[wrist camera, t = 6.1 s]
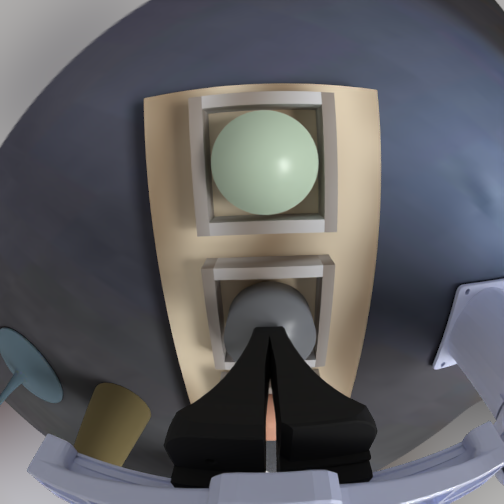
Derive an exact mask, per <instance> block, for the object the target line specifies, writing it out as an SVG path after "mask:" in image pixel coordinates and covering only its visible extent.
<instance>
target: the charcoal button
mask: <svg viewBox="0 0 504 504" xmlns="http://www.w3.org/2000/svg"><path fill="white" fill-rule="evenodd" d="M278 326H283V327H284V328H285V331H286V333H287V335H288V337H289V339H290V340H291V342H292V344H293V345H294V347H295V348H296V350H297V351H298V353H299V354H300V355H301V357H302V358H303V359H304V360H306V358H307V357H308V356H309V355H310V354H311V352H312V350H313V348H314V346H315V342H316V329H315V326H314V322H313V318H312V315H311V311H310V308H309V305H308V303H307V301H306V299H305V297H304V296H303V295H302V294H301V293H300V292H299V291H298V290H296V289H295V288H293V287H292V286H290V285H287V284H284V283H281V282H274V281H267V282H260V283H256V284H253V285H251V286H248V287H247V288H245V289H243V290H242V291H241V292H240V293H238V295H237V296H236V297H235V298H234V300H233V301H232V303H231V305H230V308H229V312H228V317H227V322H226V326H225V331H224V344H225V347H226V350H227V352H228V354H229V355H230V356H231V358H232V359H233V360H234V361H235V362H237V360H238V359H239V357H240V356H241V354H242V353H243V351H244V349H245V347H246V346H247V344H248V342H249V340H250V338H251V335H252V333H253V329H254V328H255V327H278Z"/></svg>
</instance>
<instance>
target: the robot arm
mask: <svg viewBox="0 0 504 504" xmlns="http://www.w3.org/2000/svg"><path fill="white" fill-rule="evenodd" d="M466 290H467V291H466ZM454 364H458V366H459V367H460V368H461V370H462V371H463V372H464V374H465V375H466V376H467V378H468V379H469V381H470V382H471V383H472V385H473V386H474V388H475V389H476V390H477V392H478V393H479V395H480V396H481V398H482V399H483V401H484V402H485V404H486V405H487V407H488V408H489V410H490V411H491V412H492V414H493V416H494V418H495V419H496V422H495V423H494V425H493V424H492V423H491V421H488V422H486V423H484V424H482V425H481V426H478V427H476V428H475V429H473V430H472V431H470V432H469V433H468V434H467V435H466V436H465V438H464V439H463V441H462V442H460V443H458V444H456V445H453V446H451V447H449V448H447V449H444V450H442V451H439V452H437V453H434V454H431V455H429V456H426V457H423V458H421V459H418V460H415V461H411V462H408V463H405V464H402V465H398V466H395V467H391V468H388V469H384V470H380V471H376V472H372V469H371V466H370V462H369V460H370V459H371V455H370V451H369V449H370V447H371V445H372V443H373V441H374V439H375V437H376V434H377V428H376V424H375V421H374V419H373V417H372V415H371V414H370V412H369V410H368V408H367V407H366V406H365V405H363V404H361V403H359V402H357V401H355V400H353V399H351V398H349V397H347V396H345V395H344V394H342V393H340V392H339V391H337V390H336V389H335V388H333V387H332V386H331V385H329V384H328V383H327V382H325V381H324V380H323V379H322V378H321V377H320V376H319V375H318V374H317V373H315V372H314V371H313V369H312V368H311V367H310V366H309V365H308V364H307V363H306V362H305V360H304V359H303V358H302V357H301V355H300V354H299V353H298V351H297V350H296V348H295V347H294V345H293V344H292V342H291V340H290V339H289V337H288V335H287V333H286V331H285V328H284V327H283V326H278V327H255V328H254V329H253V333H252V335H251V338H250V340H249V342H248V344H247V346H246V347H245V349H244V351H243V353H242V354H241V356H240V357H239V359H238V360H237V362H236V363H235V364H234V366H233V367H232V368H231V370H230V371H229V372H228V373H227V374H226V375H225V377H224V378H223V379H222V380H221V381H220V382H219V383H218V384H217V385H216V386H215V387H213V388H212V389H211V390H210V391H209V392H207V393H206V394H205V395H203V396H202V397H201V398H200V399H198V400H197V401H195V402H194V403H192V404H190V405H189V406H187V407H185V408H183V409H182V410H180V411H178V412H177V413H176V415H175V416H174V418H173V420H172V422H171V424H170V426H169V429H168V432H167V436H166V439H165V443H164V447H165V450H166V452H167V454H168V455H169V457H170V459H171V460H172V462H173V464H174V469H173V473H172V477H171V478H167V477H162V476H157V475H152V474H147V473H143V472H139V471H135V470H131V469H127V468H123V467H120V466H116V465H113V464H110V463H107V462H103V461H100V460H97V459H94V458H92V457H89V456H86V455H83V454H81V453H78V452H77V450H76V449H75V448H74V446H73V445H71V444H70V443H69V442H67V441H66V440H63V439H61V438H59V437H56V436H54V435H52V434H49V433H48V434H47V436H46V438H45V439H44V441H43V442H42V444H41V446H40V447H39V449H38V451H37V453H36V454H35V456H34V458H33V460H32V461H31V463H30V465H29V467H28V469H27V472H28V473H29V474H31V475H32V476H33V477H34V478H35V479H36V480H37V481H39V482H40V483H41V484H42V485H43V486H45V487H46V488H47V489H48V490H50V491H51V492H52V493H53V494H55V495H56V496H58V497H59V498H61V499H63V500H65V501H67V502H69V503H71V504H450V503H452V502H454V501H455V500H457V499H459V498H461V497H463V496H465V495H466V494H468V493H470V492H472V491H473V490H475V489H477V488H478V487H480V486H482V485H483V484H484V483H485V482H486V481H488V480H489V479H490V478H491V477H492V476H493V475H494V474H495V476H496V478H497V479H498V480H499V482H500V483H501V484H502V485H504V279H497V280H491V281H484V282H477V283H470V284H463V285H460V286H459V287H458V288H457V291H456V294H455V298H454V302H453V306H452V309H451V313H450V316H449V319H448V323H447V326H446V329H445V332H444V335H443V338H442V341H441V344H440V347H439V349H438V352H437V355H436V357H435V360H434V362H433V368H434V369H435V370H436V369H440V368H444V367H448V366H451V365H454ZM270 382H271V389H272V396H273V403H274V411H275V419H276V457H277V472H267V473H266V414H267V404H268V394H269V384H270Z"/></svg>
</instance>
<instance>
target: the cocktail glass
mask: <svg viewBox="0 0 504 504" xmlns="http://www.w3.org/2000/svg"><path fill="white" fill-rule="evenodd" d="M0 353H1V355H2V357H3V359H4V361H5V363H6V364H7V366H8V368H9V369H10V370H11V372H12V373H13V377H12V378H11V380H10V382H9V383H8V385H7V386H6V388H5V389H4V390H3V392H2V393H1V394H0V405H1V404H2V402H3V401H4V400H5V399H6V398H7V397H8V396H9V394H10V393H11V392H12V391H13V390H14V389H16V388H17V387H18V386H19V385H20V384H22V385H23V386H25V387H26V388H27V389H28V390H29V391H30V392H32V393H33V394H34V395H36V396H37V397H39V398H41V399H43V400H45V401H47V402H51V403H57V402H60V401H61V400H62V397H63V390H62V386H61V384H60V381H59V379H58V377H57V375H56V374H55V372H54V370H53V369H52V367H51V366H50V364H49V363H48V362H47V361H46V359H45V358H44V357H43V356H42V354H41V353H40V352H39V351H38V350H37V349H36V348H35V347H34V346H33V345H32V344H31V343H30V342H29V341H28V340H27V339H26V338H25V337H23V336H22V335H21V334H19V333H18V332H16V331H15V330H13V329H10V328H1V329H0Z"/></svg>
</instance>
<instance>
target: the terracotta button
mask: <svg viewBox="0 0 504 504" xmlns="http://www.w3.org/2000/svg"><path fill="white" fill-rule="evenodd" d="M266 440H276V419H275V411H274V403H273V396H272V394H268V404H267V414H266Z"/></svg>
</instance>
